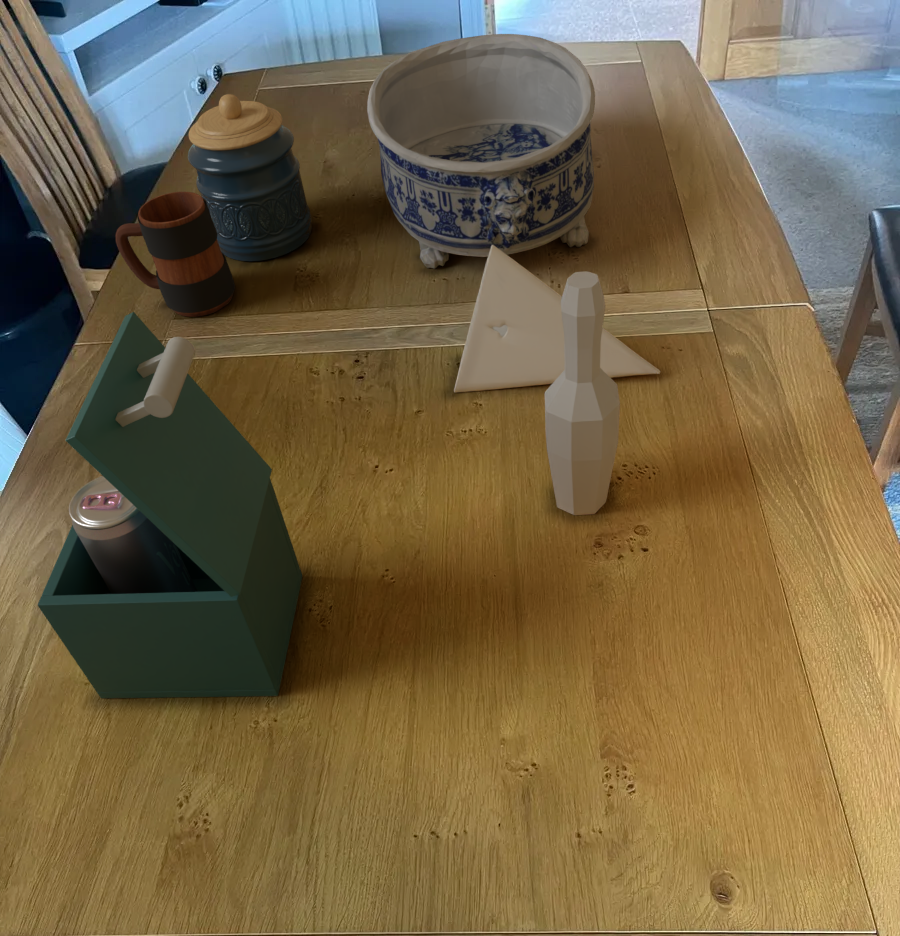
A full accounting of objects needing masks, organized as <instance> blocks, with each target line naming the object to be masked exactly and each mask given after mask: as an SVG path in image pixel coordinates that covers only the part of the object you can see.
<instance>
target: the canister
mask: <svg viewBox="0 0 900 936" xmlns="http://www.w3.org/2000/svg"><path fill="white" fill-rule="evenodd" d="M294 137H295V136H294V134H293V133H292V131H291V130H290V129H289V128H288V127H286V126H284V125H283V117H282V115H281V113H280V112H279V111H278V110H277V109H275V108H273V107H269V106H266V104H264V103H262V102H259V101H255V100H254V101H253V100H240V99H239V98H238V97H237V96H236V95H235V94H233V93H227V94H224V95H222V96H221V97H220V99H219V101H218V105H217V106H214V107H211V108H210V109H207V110H206V111H204V112H203V113H202V114H201V115H200V116H199V118H198V119H197V120H196V122H195V123H193V125H192V126H191V127H190V129H189V132H188V139H189V141H190V143H192V145H191V146H190V148H189V150H188V153H187V159H188V162H189V163H190V165H191V166H192V167H193V168H194V169H195V171H196V175H197V177H196V183H195V184H196V188H197V190H198V192H199V193H200V196H201V197H202V198H203V199H205V201H206V202H207V205H208V209H209V212H210V215H211V218H212V220H213V223H214V226H215V229H216V231H217V241H218V244H219V247H220V250H221V252H222V253H223V254H224V256H225V257H226V258H230V259H232V260H236V261H241V262H261V261H266V260H272V259H276V258H279V257H282V256H284V255H287V254H289V253H291V252H294V251H295V250H297V249H299V248H300V247H301V246H302V245H303V244H304V243H306V242H307V240H308V239H309V238H310V236H311V234H312V231H313V230H312V215H311V209H310V207H309V205H308V202H307V197H306V194H305V193H306V192H305V189H304V184H303V180H302V175H301V171H300V168H301V165H300V161H299V160H298V158H297V157H296V156H295V155H294V152H293V149H292V148H293V146H294V141H295V138H294Z"/></svg>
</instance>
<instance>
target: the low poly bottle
mask: <svg viewBox="0 0 900 936" xmlns="http://www.w3.org/2000/svg"><path fill="white" fill-rule="evenodd" d="M599 278H600V277H599V274H597V273H594V272H590V271H575V272H573V273H572V274H571V275H570V276H568V277H567V280H566V282H565V286H564V289H563V292H562V294H561V296H562V298H561V312H562V321H563V330H564V361H565V370H564V371H563V372H562V373H561V375H560V376H559V377H558V378H557V379H556V380H555V381H554V382H553V384H550V385H549V387H548V388H547V389H546V390H545V391H544V423H545V426H544V427H545V442H546V454H547V459H548V465H549V470H550V475H551V482H552V486H553V492H554V498H555V502H556V503H555V504H556V508H558V509H560V510H562V511H564V512H566V513H568V514H571V515H572V516H583V515H596V513H597V512H598V511H599V510H601V508H602V507H603V506H604V505H605V504H606V503H607V500H608V499H607V498H608V493H609V489H610V484H611V480H612V475H613V469H614V464H615V460H616V454H617V451H618V447H619V446H618V445H619V433H620V430H619V429H620V413H621V412H620V410H621V401H620V394H619V389H618V388H619V387H618V384H617V382H615V380H613V378H610V377H609V376H608V375H607V374H606V373H605V372H604V371H603V370H602V369H601V368H600V351H601V336H602V328H604V319H605V313H606V300H605V296H604V293H603V289H602V285H601V282H600V279H599Z"/></svg>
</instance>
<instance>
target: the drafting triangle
mask: <svg viewBox="0 0 900 936" xmlns="http://www.w3.org/2000/svg"><path fill="white" fill-rule="evenodd" d="M561 298H562V294H560V293H558V292H557V291H556V290H554V289H553V288H552V287H550V286H549V285H547V283H545V282H544V281H543V280H542V279H540V278H539V277H537V276H536V275H535V274H533V273H532V272H530V270H528V269H526V268H525V267H524V266H523V265H522V264H520V263H518V262H517V261H516V260H515V259H513V258H512V257H510V256H509V254H508V255H506V254H505V253H504V252H502V251H501V250H500V249H498V248H497V247H495V246H494V245H492V246H491V249H490V252H489V255H488V257H486V261H485V265H484V269H483V272H482V277H481V281H480V285H479V289H478V293H477V296H476V300H475V303H474V309H473V312H472V316H471V320H470V324H469V327H468V331H467V335H466V339H465V342H464V347H463V351H462V355H461V359H460V363H459V367H458V372H457V374H456V375H457V376H456V380H455V385H454V388H453V392H454V393H466V392H468V393H469V392H478V391H489V390H499V389H501V390H502V389H510V388H521V387H523V388H524V387H532V386H533V387H534V386H542V385H552V384H553V382H554V381H555V380H556V379H557V378H558V377H559V376H560V375H561V373H562V372H563V371H564V370H565V361H564V330H563V321H562V312H561ZM600 368H601V369H602V370H603V371H604V372H605V373H606V374H607V375H608V376H609V377H610V378H611V379H613V378H621V377H630V376H632V377H633V376H644V375H660V374H661V370H660V369H659V368H657V367H656V366H654V365H653V364H652V363H650V362H649V361H648V360H646V359H645V358H643V357H642V356H641V355H639V354H638V353H637V352H635V351H634V350H633V349H632V348H630V347H629V346H628V345H626V344H625V343H624V342H623V341H621V340H620V339H618V338H617V337H616V336H615V335H614V334H612V333H611V332H610V331H608V330H607V329H606V328H604V327H603V328H602V336H601V351H600Z"/></svg>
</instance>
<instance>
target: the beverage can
mask: <svg viewBox="0 0 900 936" xmlns="http://www.w3.org/2000/svg"><path fill="white" fill-rule="evenodd" d="M68 513H69V516H70V519H71V523H72V525H73V527H74V529H75V531H76V533H77V535H78V536H79V538H80V540H81V542H82V543H83V545H84V547H85V548H86V550H87V552H88V554H89V555H90V557H91V559H92V561H93V562H94V564H95V566H96V568H97V569H98V571H99V573H100V575H101V576H102V578H103V580H104V581H105V583H106V585H107V587H108V588H109V590H110V592H111V594H133V593H171V592H197V590H196V588H195V586H194V584H193V581H192V579H191V577H190V575H189V573H188V571H187V569H186V566H185V564H184V562H183V560H182V558H181V556H180V554H179V551H178V549H177V547H176V545H175V544H174V543H173V542H172V541H171V540H170V539H169V538H168V537H167V536H166V535H165V534H164V533H163V532H162V531H161V530H160V529H158V528H157V527H156V526H155V525H154V524H153V523H152V522H151V521H150V520H149V519H148V518H147V517H146V516H145V515H144V514H143V513H141V512H140V511H139V510H138V509H137V508H136V507H135V506H134V505H133V504H132V503H131V502H130V501H129V500H128V499H127V498H126V497H125V496H123V495H122V494H121V493H120V492H119V491H118V490H117V489H116V488H115V487H114V486H113V485H112V484H111V483H110V482H109V481H108V480H106V479H105V478H104V477H103V476H102V475H101V476H98V477H96V478H94V479H92V480H90V481H88V482H86V483H85V484H84V485H83V486H81V487H80V488H79V489H78V490H76V492H75V493H74V495H73V496H72V498H71V500H70V501H69V504H68Z"/></svg>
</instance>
